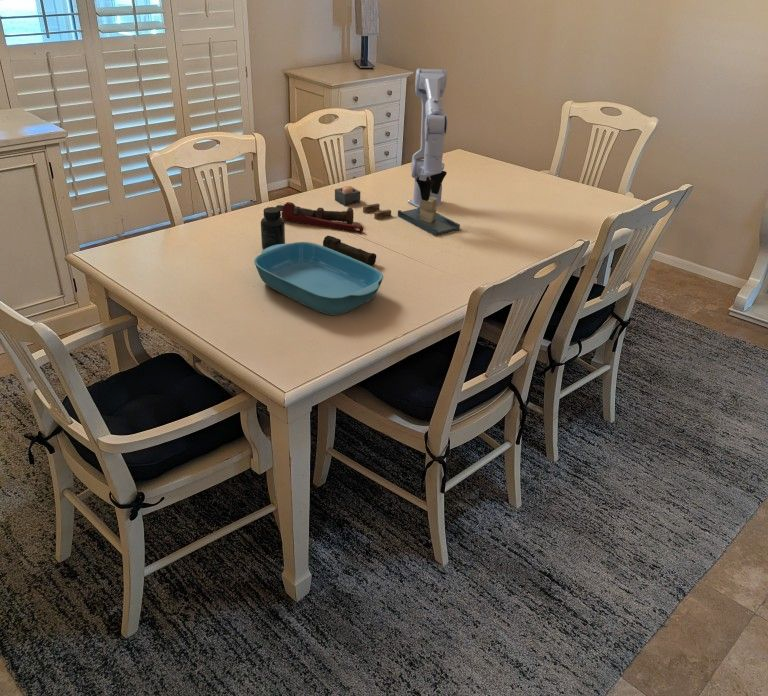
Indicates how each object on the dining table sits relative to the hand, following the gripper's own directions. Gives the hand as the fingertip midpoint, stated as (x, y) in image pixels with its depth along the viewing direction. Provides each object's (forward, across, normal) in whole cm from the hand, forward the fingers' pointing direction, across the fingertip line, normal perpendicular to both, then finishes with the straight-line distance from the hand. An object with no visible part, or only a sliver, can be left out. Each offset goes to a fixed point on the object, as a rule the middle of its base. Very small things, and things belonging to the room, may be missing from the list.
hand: (430, 196), depth 220 cm
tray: (+9, 0, 0) cm, 9 cm away
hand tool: (+9, +38, -8) cm, 40 cm away
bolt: (+9, +17, -27) cm, 34 cm away
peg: (+8, 0, 0) cm, 8 cm away
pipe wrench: (+9, +22, -28) cm, 37 cm away
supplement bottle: (+9, +44, -30) cm, 54 cm away
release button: (+8, -3, -32) cm, 33 cm away
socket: (+9, +2, -18) cm, 20 cm away
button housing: (+9, -2, -32) cm, 34 cm away
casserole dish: (+9, +60, -4) cm, 61 cm away
